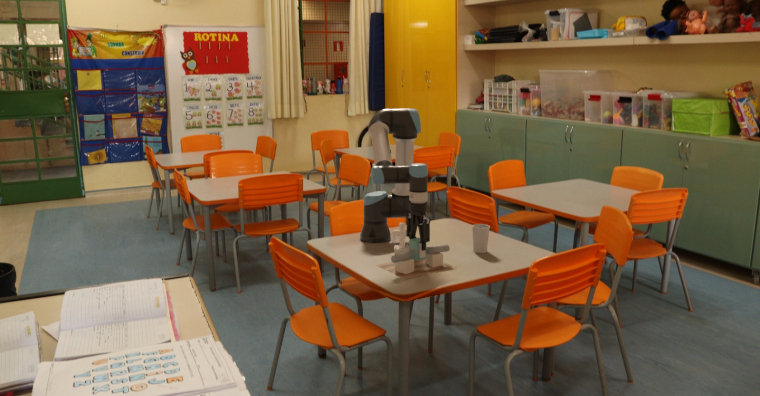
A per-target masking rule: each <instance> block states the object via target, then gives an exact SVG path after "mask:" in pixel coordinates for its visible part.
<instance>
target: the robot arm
mask: <svg viewBox="0 0 760 396" xmlns="http://www.w3.org/2000/svg"><path fill="white" fill-rule="evenodd" d="M367 131H368V135H369V136H370V138H371V144H372V145H371V146H372V152H373V154H372V155H373V159H374V161H373V162H374V166H372V167H371V171H370V176H371V177H370V178H371V183H373V184H375V185H376V184H377V185H379V184H380V185H387V184H388V185H389V184H391V185H392V184H394V188H393V189H391V193H389V194H388V192H387V191H386V190H377V191H371V192H368V193H366V194H365V195H364V196H363V203H362V205H363V225H362V227H361V232H360V235H359V238H360V240H361V241H363V242H365V243H384V242H389V241H390V240H392V233H391V231H390V228H389V225H388V219H401V218H402V219H403V218H404V219H406V228H405V230H406V236H405V237H408V240H409V239H414V238H418V237H417V236H416V235H417V232H418V233H419V234H418V235H419V238H420V241H421V242H419V258H424V257H425V250H426V247H427V243H429V242H430V241H431V237H430V236H431V235H430V234H431V233H430V232H431V228H430V227H431V226H430V225H431V221H432V220H431V218H428V217H427V215H426V212H427V211H428V202H427V201H428V200H429V199H428V178H429V177H428V176H429V175H428V174H429V171H428V170H429V169H428V165H427V164H426V163H418V162H417V163H414V150H415V149H414V147H415V146H414V145H415V144H414V143H415V142H414V141H415V140H417V138H418V135H419V134H421V131H422V124H421V119H420V114H419V111H418V110H417V109H416V108H408V107H407V108H383V109H380V110H378V111H377V112H376V113H375V114H373V116H372V117H371V118H370V121H369V122H368V125H367ZM389 134H392V138H393V139H394V140H395V159H394V160H395V165H393V160H392V153H391V146H390V141H389ZM417 230H418V231H417ZM409 233H410V234H409Z"/></svg>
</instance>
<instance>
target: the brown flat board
mask: <svg viewBox="0 0 760 396" xmlns="http://www.w3.org/2000/svg"><path fill="white" fill-rule="evenodd" d="M410 259H411V258H410ZM413 260H414V259H413ZM375 266H376V267H379V268H381V269H383V270H386V271H388V272H389V273H393V274H395V275H396V276H400V277H401V278H403V279H406V280H411V279H414V278H418V277H422V276H427V275H431V274H432V275H433V274H435V273H439V272H443V271H448V270H452V269H456V268H457V266H454V265H453V264H452V265H451V264H449V263H446V262H444V261H443V266H437V267H431V266H430V265H428V264H426V259H422V260H418V261H416V260H414V272H411V273H408V274H403V273H400V272H397V271H395V263H393V262H392V261H389V262H385V263H380V264H377V265H375Z"/></svg>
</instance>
